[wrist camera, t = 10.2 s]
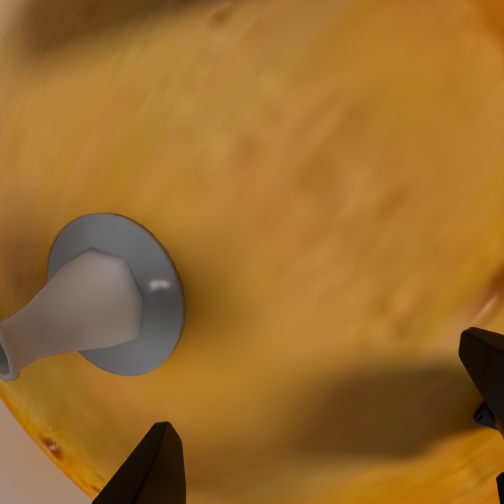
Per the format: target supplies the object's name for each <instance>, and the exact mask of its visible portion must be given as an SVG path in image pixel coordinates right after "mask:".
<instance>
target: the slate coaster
mask: <svg viewBox="0 0 504 504" xmlns="http://www.w3.org/2000/svg"><path fill="white" fill-rule="evenodd" d="M92 247H93V248H96V249H99V250H101V251H104V252H107V253H110V254H113V255H116V256H119V257H122V258H125V259H126V262H127V264H128V267H129V269H130V271H131V274H132V276H133V278H134V280H135V283H136V285H137V287H138V290H139V292H140V294H141V296H142V298H143V307H142V316H141V326H140V336H139V339H135V340H132V341H129V342H126V343H122V344H119V345H116V346H112V347H107V348H100V349H90V350H79V351H78V352H79V353H80V354H81V355H82V356H83V357H85V358H86V359H87V360H88V361H90V362H91V363H93V364H94V365H96V366H97V367H99V368H101V369H103V370H105V371H108V372H110V373H113V374H117V375H123V376H137V375H142V374H145V373H148V372H150V371H152V370H154V369H155V368H157V367H158V366H159V365H161V364H162V363H163V362H164V361H165V360H166V359H167V358H168V357H169V355H170V354H171V353H172V352H173V350H174V349H175V348H176V346H177V344H178V342H179V340H180V337H181V334H182V331H183V326H184V321H185V301H184V294H183V289H182V284H181V281H180V278H179V275H178V272H177V270H176V268H175V265H174V263H173V261H172V260H171V258H170V256H169V254H168V253H167V251H166V250H165V248H164V247H163V246H162V244H161V243H160V242H159V240H158V239H157V238H156V237H155V236H154V235H153V234H152V233H151V232H150V231H148V230H147V229H146V228H145V227H144V226H142V225H141V224H139V223H138V222H136V221H135V220H132V219H130V218H128V217H126V216H122V215H119V214H113V213H99V214H90V215H86V216H82V217H80V218H78V219H76V220H74V221H73V222H72V223H70V224H69V225H68V226H67V227H66V228H65V229H64V230H63V231H62V232H61V234H60V235H59V236H58V238H57V240H56V242H55V244H54V246H53V249H52V251H51V255H50V259H49V264H48V278H47V279H48V282H49V281H50V280H51V279H52V278H53V277H54V275H55V274H56V273H57V272H58V271H59V270H60V269H61V268H62V267H63V266H64V265H65V264H66V263H67V262H68V261H70V260H72V259H73V258H75V257H77V256H78V255H80V254H82V253H83V252H85V251H87V250H88V249H90V248H92Z"/></svg>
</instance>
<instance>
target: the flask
mask: <svg viewBox="0 0 504 504" xmlns="http://www.w3.org/2000/svg"><path fill="white" fill-rule="evenodd" d="M142 307H143V298H142V296H141V294H140V292H139V290H138V287H137V285H136V283H135V280H134V278H133V276H132V274H131V271H130V269H129V267H128V264H127V262H126V259H125V258H122V257H119V256H116V255H113V254H110V253H107V252H104V251H101V250H99V249H96V248H93V247H92V248H90V249H88V250H87V251H85V252H83V253H82V254H80V255H78V256H77V257H75V258H73V259H72V260H70V261H68V262H67V263H66V264H65V265H64V266H63V267H62V268H61V269H60V270H59V271H58V272H57V273H56V274H55V275H54V277H53V278H52V279H51V280H50V281H49V282H48V283H47V284H46V285H45V286H44V287H43V288H42V289H41V290H40V291H39V292H38V293H37V294H36V295H35V296H34V297H33V298H32V300H31V301H30V302H29V303H28V304H27V305H26V306H24V307H23V308H22V309H20V310H19V311H17V312H16V313H15V314H13V315H12V316H10V317H8V318H6V319H4V320H2V321H0V378H1V379H2V380H3V381H4V382H6V381H10V380H14V379H16V378H18V376H19V375H20V371H19V370H20V369H21V368H23V367H24V366H26V365H27V364H29V363H31V362H33V361H34V360H36V359H39V358H42V357H45V356H48V355H51V354H57V353H65V352H72V351H79V350H90V349H100V348H107V347H112V346H116V345H119V344H122V343H126V342H129V341H132V340H135V339H139V336H140V326H141V316H142Z"/></svg>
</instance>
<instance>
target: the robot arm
mask: <svg viewBox="0 0 504 504" xmlns="http://www.w3.org/2000/svg"><path fill="white" fill-rule="evenodd" d="M459 357H460V360H461V361H462V363H463V365H464V366H465V368H466V370H467V372H468V373H469V375H470V377H471V379H472V380H473V382H474V384H475V386H476V388H477V389H478V391H479V393H480V394H481V396H482V397H483V399H484V400H485V402H484V403H483V404H482V406H481V407H480V408H479V409H478V411H477V412H476V413H475V415H474V417H473V418H474V420H475V422H476V423H479V424H482V425H485V426H488V427H491V428H494V429H497V430H499V432H500V433H501V435H502V437H503V438H504V335H502V334H498V333H495V332H491V331H487V330H483V329H480V328H476V327H470V328H468V329H466V330H464V331H463V332H462V334H461V338H460V345H459ZM479 416H480V417H479ZM496 481H497V488H498V494H499V499H500V504H504V472H501V473H500V474H499V475H498V476H497V477H496ZM92 504H186V480H185V470H184V460H183V448H182V441H181V439H180V437H179V435H178V434H177V432H176V431H175V429H174V428H173V426H172V425H171V423H170V422H167V421H165V422H157V423H155V424H154V425H153V426H152V428H151V429H150V430H149V431H148V433H147V434H146V435H145V437H144V438H143V439H142V440H141V442H140V443H139V444H138V446H137V447H136V448H135V449H134V451H133V452H132V453H131V454H130V456H129V457H128V458H127V460H126V461H125V462H124V463H123V465H122V466H121V467H120V468H119V470H118V471H117V472H116V473H115V475H114V476H113V477H112V478H111V480H110V481H109V482H108V483H107V485H106V486H105V487H104V488H103V490H102V491H101V492H100V493H99V494H98V496H97V497H96V498H95V499H94V501H93V502H92Z"/></svg>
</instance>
